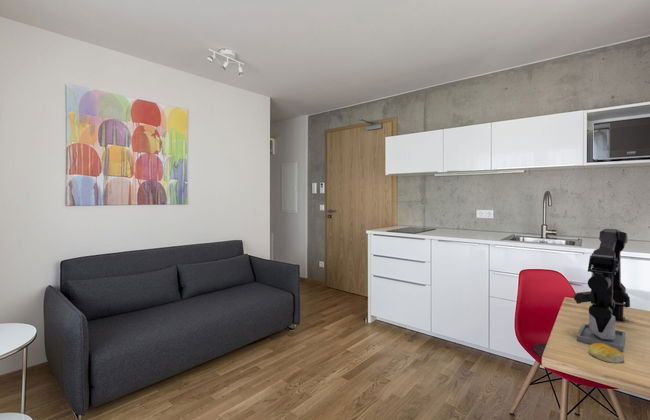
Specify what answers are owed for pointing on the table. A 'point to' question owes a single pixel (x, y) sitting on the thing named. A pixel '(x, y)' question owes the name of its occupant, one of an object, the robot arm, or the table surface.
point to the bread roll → (606, 353)
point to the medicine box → (608, 331)
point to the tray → (591, 338)
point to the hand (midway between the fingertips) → (601, 328)
